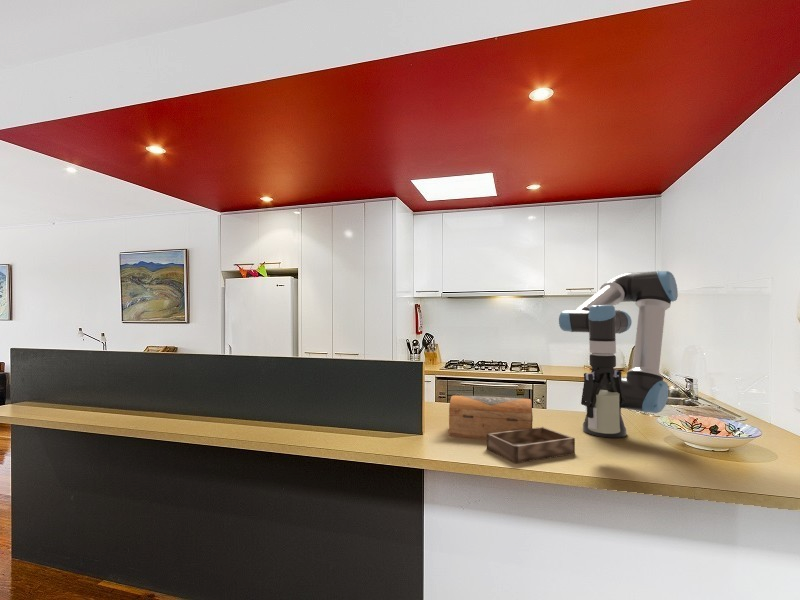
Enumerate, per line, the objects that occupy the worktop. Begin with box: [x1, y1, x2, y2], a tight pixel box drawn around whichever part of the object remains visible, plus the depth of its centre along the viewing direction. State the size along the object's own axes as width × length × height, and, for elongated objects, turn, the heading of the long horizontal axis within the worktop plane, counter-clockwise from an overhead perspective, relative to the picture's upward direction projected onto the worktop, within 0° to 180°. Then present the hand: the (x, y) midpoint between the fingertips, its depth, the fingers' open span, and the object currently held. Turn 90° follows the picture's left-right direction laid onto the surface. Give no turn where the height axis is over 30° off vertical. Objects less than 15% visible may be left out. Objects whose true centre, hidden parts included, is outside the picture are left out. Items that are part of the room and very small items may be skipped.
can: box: [588, 390, 620, 434], centre depth 134 cm, size 9×9×12 cm
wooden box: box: [448, 394, 534, 440], centre depth 163 cm, size 30×16×14 cm, turn 76°
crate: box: [486, 426, 576, 464], centre depth 142 cm, size 24×15×5 cm, turn 113°
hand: (603, 426), depth 134 cm, fingers closed on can, 9 cm apart
